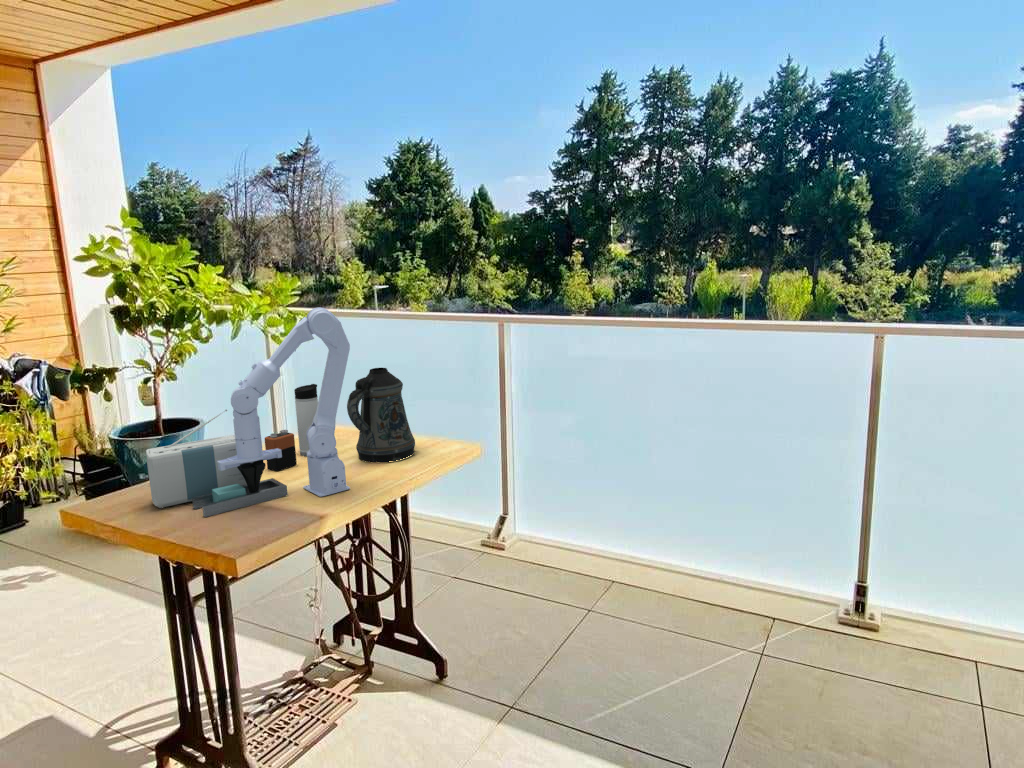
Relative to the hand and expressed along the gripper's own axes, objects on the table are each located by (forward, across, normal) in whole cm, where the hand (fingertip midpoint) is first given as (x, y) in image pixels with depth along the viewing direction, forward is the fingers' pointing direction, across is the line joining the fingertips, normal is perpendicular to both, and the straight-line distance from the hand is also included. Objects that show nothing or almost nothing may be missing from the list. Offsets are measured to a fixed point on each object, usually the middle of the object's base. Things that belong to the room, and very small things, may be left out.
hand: (253, 492), depth 166 cm
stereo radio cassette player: (+2, +9, -11) cm, 14 cm away
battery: (+2, -15, -19) cm, 24 cm away
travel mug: (+2, -27, -26) cm, 38 cm away
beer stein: (+2, -40, -7) cm, 41 cm away
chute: (+1, +4, 0) cm, 4 cm away
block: (+2, +6, 0) cm, 6 cm away
